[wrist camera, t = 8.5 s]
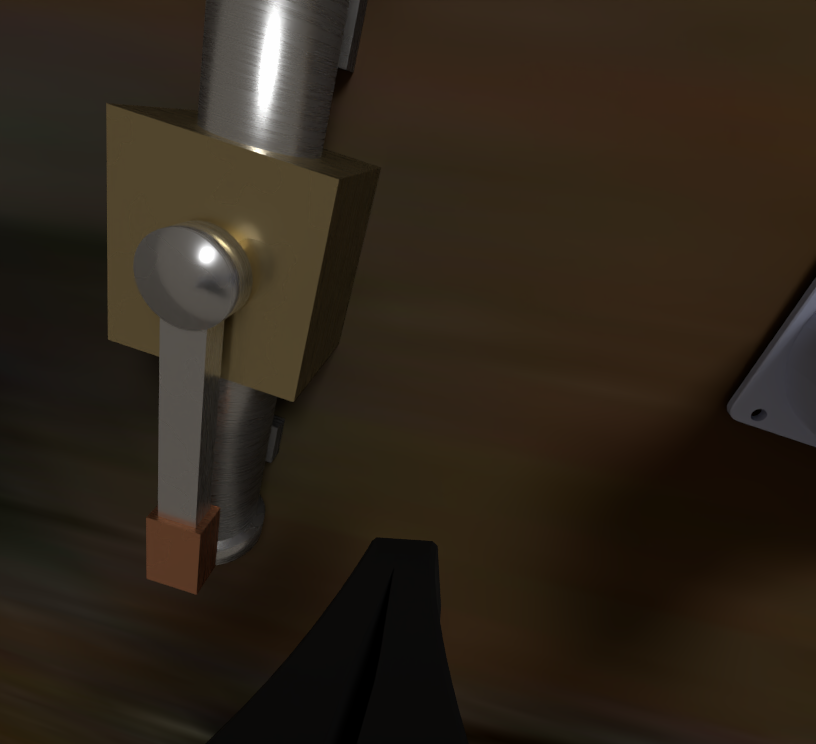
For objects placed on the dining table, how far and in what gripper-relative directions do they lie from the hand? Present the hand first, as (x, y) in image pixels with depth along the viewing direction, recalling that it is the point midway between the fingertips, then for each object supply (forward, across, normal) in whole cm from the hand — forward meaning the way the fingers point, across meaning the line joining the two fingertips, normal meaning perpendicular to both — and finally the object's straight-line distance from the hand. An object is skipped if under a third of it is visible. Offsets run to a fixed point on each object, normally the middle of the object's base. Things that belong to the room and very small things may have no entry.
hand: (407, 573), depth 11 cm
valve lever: (+5, +8, 0) cm, 10 cm away
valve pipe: (+10, +6, -6) cm, 13 cm away
